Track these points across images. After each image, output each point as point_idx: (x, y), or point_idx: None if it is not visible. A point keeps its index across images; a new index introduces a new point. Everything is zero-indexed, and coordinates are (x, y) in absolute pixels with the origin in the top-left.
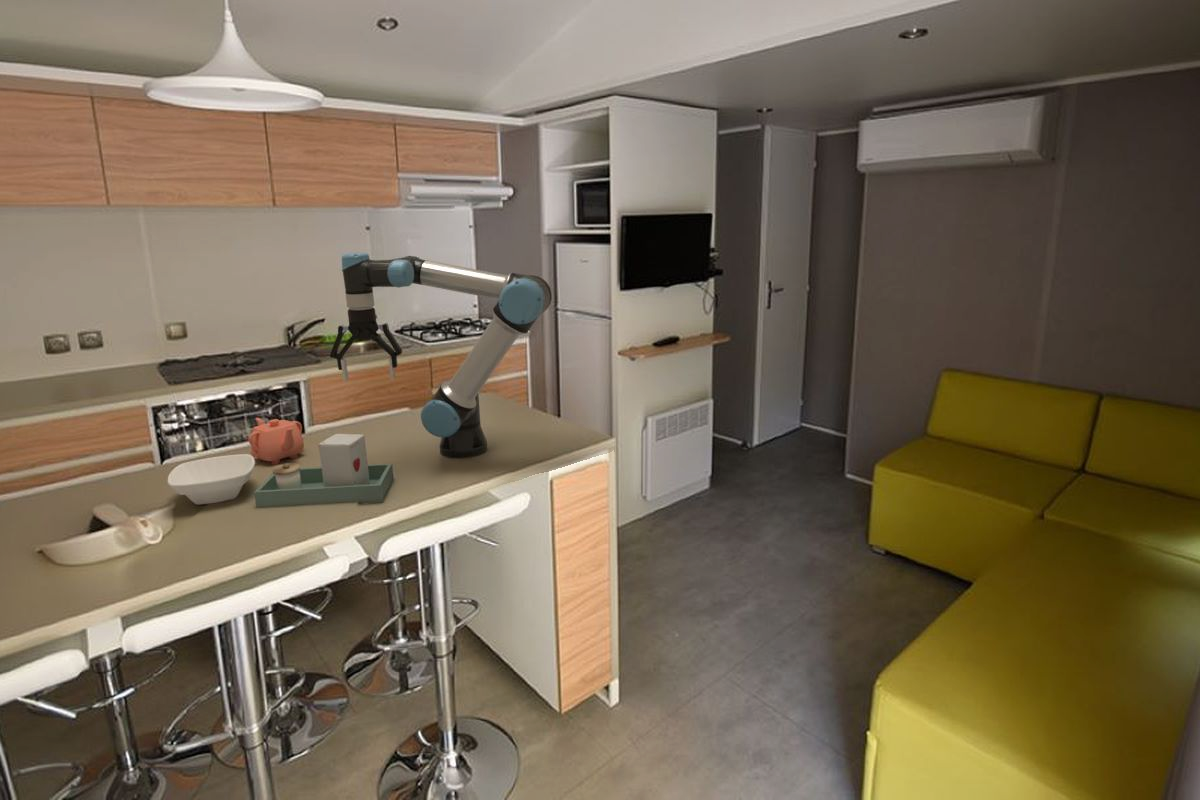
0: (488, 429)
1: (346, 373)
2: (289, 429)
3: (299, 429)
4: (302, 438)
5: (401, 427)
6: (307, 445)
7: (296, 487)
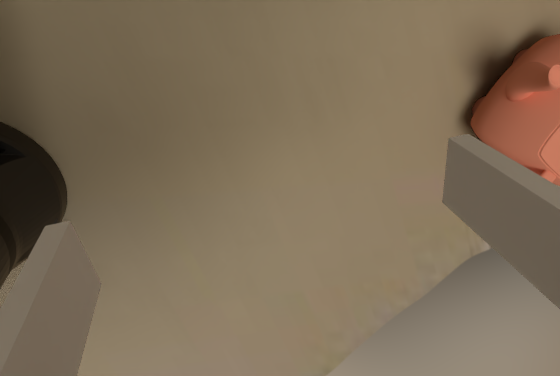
0: None
1: (481, 202)
2: (558, 80)
3: None
4: None
5: (270, 321)
6: None
7: None
